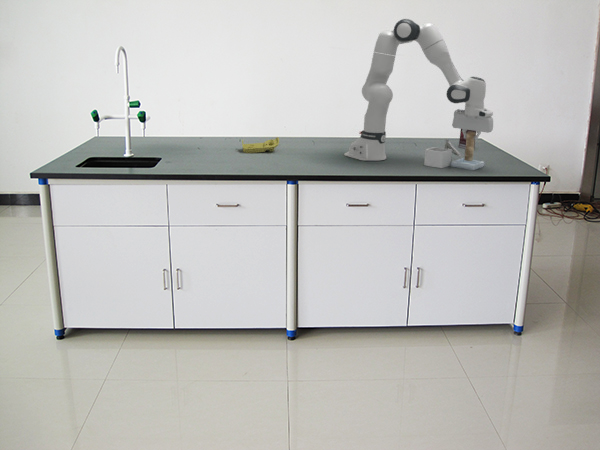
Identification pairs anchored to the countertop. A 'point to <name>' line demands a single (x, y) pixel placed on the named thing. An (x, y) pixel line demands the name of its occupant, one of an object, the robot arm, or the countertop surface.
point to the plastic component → (260, 146)
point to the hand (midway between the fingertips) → (470, 139)
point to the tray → (467, 164)
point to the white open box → (438, 157)
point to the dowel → (469, 146)
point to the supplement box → (462, 140)
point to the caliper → (451, 147)
